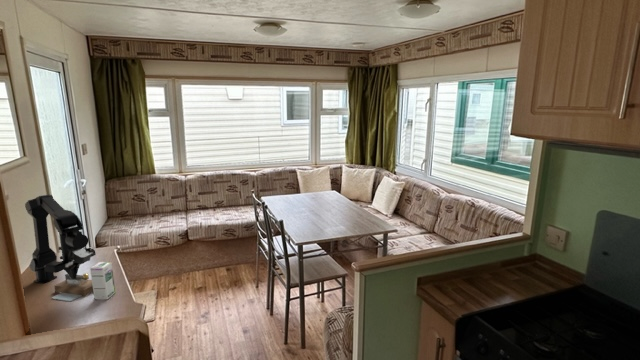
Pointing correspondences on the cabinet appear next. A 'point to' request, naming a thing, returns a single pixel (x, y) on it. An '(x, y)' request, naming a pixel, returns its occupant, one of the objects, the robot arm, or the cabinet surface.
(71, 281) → the grey block
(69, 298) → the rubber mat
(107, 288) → the syrup box
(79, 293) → the body
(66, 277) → the lever
